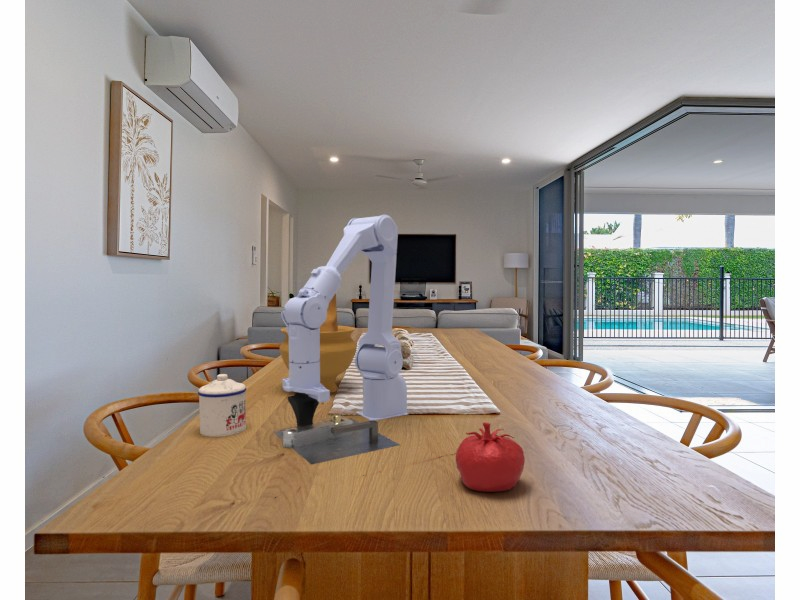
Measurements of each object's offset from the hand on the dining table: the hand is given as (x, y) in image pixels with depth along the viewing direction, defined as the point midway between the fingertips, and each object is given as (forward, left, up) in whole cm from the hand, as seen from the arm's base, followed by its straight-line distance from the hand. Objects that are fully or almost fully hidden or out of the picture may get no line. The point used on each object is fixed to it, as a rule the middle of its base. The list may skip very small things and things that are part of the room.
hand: (305, 432), depth 91 cm
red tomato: (-16, +33, -2) cm, 37 cm away
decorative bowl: (-19, -39, -2) cm, 43 cm away
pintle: (-6, +1, -2) cm, 6 cm away
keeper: (-6, +9, -2) cm, 11 cm away
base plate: (-5, +3, -2) cm, 6 cm away
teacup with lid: (+11, -15, -2) cm, 19 cm away
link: (-2, +2, -1) cm, 3 cm away
